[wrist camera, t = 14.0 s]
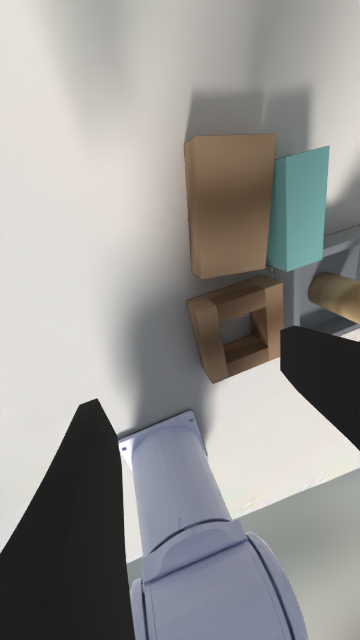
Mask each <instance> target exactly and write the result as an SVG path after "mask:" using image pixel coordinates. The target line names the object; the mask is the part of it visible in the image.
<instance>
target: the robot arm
mask: <svg viewBox="0 0 360 640" xmlns="http://www.w3.org/2000/svg"><path fill="white" fill-rule="evenodd" d="M280 370H281V371H282V373H283V374H284V375H285V376H286V378H287V379H288V380H289V382H290V383H291V384H292V385H293V386H294V387H295V389H296V390H297V391H298V392H299V393H300V394H301V395H302V396H303V397H304V398H305V399H306V400H307V401H308V402H309V403H311V404H312V405H313V406H314V407H315V408H316V409H317V410H318V411H319V412H320V413H321V414H322V415H323V416H324V417H325V418H326V419H327V420H329V421H330V422H331V423H332V424H333V425H334V426H335V427H336V428H337V429H338V430H339V431H340V432H341V433H342V434H343V435H344V436H346V437H347V438H348V439H349V440H350V441H351V442H352V443H353V444H354V445H355V446H356V448H357V449H358V450H359V451H360V342H357V341H353V340H349V339H346V338H342V337H338V336H334V335H331V334H327V333H323V332H320V331H316V330H312V329H308V328H304V327H300V326H295V325H293V326H290V327H288V328H285V329H282V330H280ZM120 453H121V455H122V456H123V458H124V460H125V461H126V463H127V465H128V466H129V468H130V470H131V472H132V473H133V478H134V486H135V495H136V503H137V511H138V519H139V527H140V535H141V543H142V551H143V558H142V559H141V564H142V573H143V581H142V578H139V579H136V580H135V581H134V582H133V584H132V588H131V590H130V592H129V584H128V575H127V567H126V554H125V536H124V509H123V483H122V464H121V457H120ZM143 582H144V584H143ZM0 640H308V636H307V631H306V626H305V623H304V619H303V616H302V613H301V610H300V607H299V604H298V601H297V599H296V596H295V594H294V592H293V589H292V587H291V584H290V582H289V580H288V578H287V576H286V574H285V572H284V570H283V568H282V567H281V564H280V563H279V561H278V559H277V557H276V556H275V554H274V553H273V551H272V550H271V548H270V547H269V546H268V545H267V544H266V542H265V541H263V540H262V539H261V538H259V537H258V536H257V535H256V534H255V533H253V532H247V533H245V532H244V530H243V527H242V525H241V523H240V520H238V519H237V520H234V521H232V519H231V516H230V514H229V511H228V509H227V507H226V504H225V502H224V500H223V497H222V495H221V492H220V490H219V488H218V485H217V483H216V481H215V478H214V476H213V473H212V471H211V469H210V466H209V464H208V459H207V456H206V452H205V449H204V445H203V442H202V438H201V435H200V432H199V428H198V425H197V421H196V418H195V415H194V412H193V411H187V412H185V413H182V414H180V415H178V416H175V417H173V418H170V419H168V420H166V421H163V422H161V423H159V424H156V425H154V426H151V427H149V428H147V429H144V430H142V431H140V432H137V433H135V434H132V435H130V436H128V437H125V438H123V439H121V440H119V441H118V438H117V435H116V433H115V431H114V429H113V427H112V425H111V423H110V421H109V419H108V418H107V416H106V414H105V412H104V410H103V408H102V406H101V404H100V402H99V401H98V399H94V400H91V401H89V402H86V403H83V404H81V405H79V407H78V408H77V411H76V413H75V415H74V417H73V419H72V421H71V423H70V425H69V428H68V430H67V432H66V434H65V436H64V438H63V440H62V442H61V445H60V447H59V449H58V451H57V453H56V455H55V457H54V459H53V461H52V463H51V465H50V467H49V469H48V471H47V473H46V475H45V477H44V478H43V480H42V482H41V484H40V486H39V488H38V489H37V491H36V493H35V495H34V497H33V499H32V500H31V502H30V504H29V506H28V508H27V510H26V511H25V513H24V515H23V517H22V518H21V520H20V522H19V524H18V525H17V527H16V529H15V530H14V532H13V534H12V535H11V537H10V539H9V540H8V542H7V544H6V545H5V547H4V549H3V550H2V552H1V553H0Z"/></svg>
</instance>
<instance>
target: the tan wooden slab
mask: <svg viewBox="0 0 360 640" xmlns="http://www.w3.org/2000/svg"><path fill="white" fill-rule="evenodd" d="M275 145H276V133H275V134H244V135H213V136H195V137H194V138H192V139H191V140H190V141H188V142H187V143H185V144H184V156H185V173H186V189H187V206H188V222H189V238H190V255H191V271H192V273H193V274H195V275H196V276H197V277H199V278H200V279H201V280H203V279H209V278H214V277H220V276H226V275H232V274H237V273H243V272H249V271H254V270H260V269H265V266H266V254H267V242H268V230H269V218H270V206H271V194H272V181H273V169H274V157H275Z"/></svg>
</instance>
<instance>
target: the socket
mask: <svg viewBox="0 0 360 640" xmlns="http://www.w3.org/2000/svg"><path fill="white" fill-rule="evenodd" d="M186 302H187V306H188V310H189V315H190V319H191V323H192V327H193V332H194V336H195V340H196V344H197V349H198V353H199V357H200V361H201V365H202V368H203V370H204V371H205V373H206V374H207V376H208V377H209V379H210V381H211V382H212V384H214V383H217V382H219V381H221V380H224V379H226V378H229V377H231V376H234V375H236V374H239V373H241V372H243V371H246V370H248V369H251V368H253V367H256V366H258V365H261V364H263V363H265V362H268V361H270V360H273V359H275V358H278V357H280V330H282V329H283V283H282V282H280V281H277V280H275V279H273V278H270V277H268V276H265V275H260V276H257V277H254V278H251V279H248V280H246V281H243V282H240V283H237V284H234V285H231V286H228V287H225V288H222V289H219V290H217V291H214V292H211V293H208V294H205V295H202V296H199V297H196V298H193V299H190V300H187V301H186ZM247 313H250V314H251V325H252V334H251V335H248V336H246V337H243V338H241V339H238V340H235V341H233V342H230V343H228V344H225V345H223V342H222V336H221V330H220V323H223V322H226V321H228V320H231V319H234V318H236V317H239V316H242V315H245V314H247Z"/></svg>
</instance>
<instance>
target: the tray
mask: <svg viewBox="0 0 360 640" xmlns="http://www.w3.org/2000/svg"><path fill="white" fill-rule="evenodd" d="M323 272H330V273H333V274H337V275H340V276H344V277H347V278H351V279H354V280H358V281H360V225H358V226H355V227H352V228H349V229H346V230H343V231H340V232H337V233H334V234H331V235H328V236H325V237H324V238H323V253H322V260H319V261H316V262H314V263H311V264H308V265H305V266H302V267H299V268H296V269H293V270H291V271H288V272H286V271H283V270H281V269H278V268H275V267H273V275H274V279H275V280H277V281H280V282H282V283H283V329H285V328H288V327H290V326H293V325H295V326H300V327H304V328H308V329H312V330H316V331H320V332H323V333H327V334H331V335H334V336H338V337H339V336H342V335H344V334H346V333H349V332H351V331H354V330H356V329H359V328H360V324H358V323H356V322H354V321H351V320H349V319H347V318H345V317H343V316H340V315H338V314H336V313H334V312H331V311H329V310H327V309H325V308H323V307H320V306H318V305H316V304H314V303H312V302H310V301H309V299H308V294H307V293H308V288H309V285H310V284H311V282H312V280H313V279H314V278H315V277H316V276H317V275H319V274H321V273H323Z"/></svg>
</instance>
